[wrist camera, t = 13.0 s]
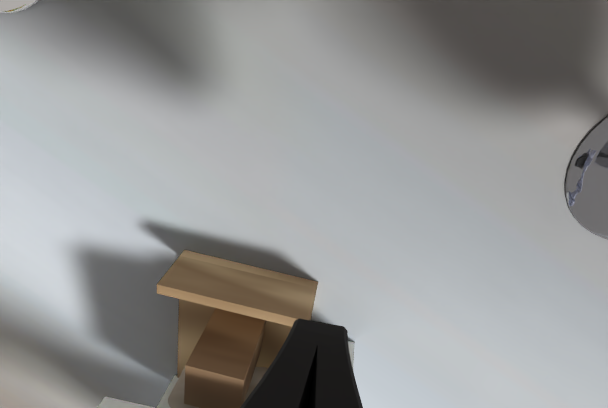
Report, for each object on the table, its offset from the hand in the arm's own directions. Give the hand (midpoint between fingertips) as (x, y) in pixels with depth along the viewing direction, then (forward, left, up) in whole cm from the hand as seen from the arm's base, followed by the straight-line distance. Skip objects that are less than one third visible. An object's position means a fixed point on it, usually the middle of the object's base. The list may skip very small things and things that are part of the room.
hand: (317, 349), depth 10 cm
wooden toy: (-10, +5, -10) cm, 15 cm away
